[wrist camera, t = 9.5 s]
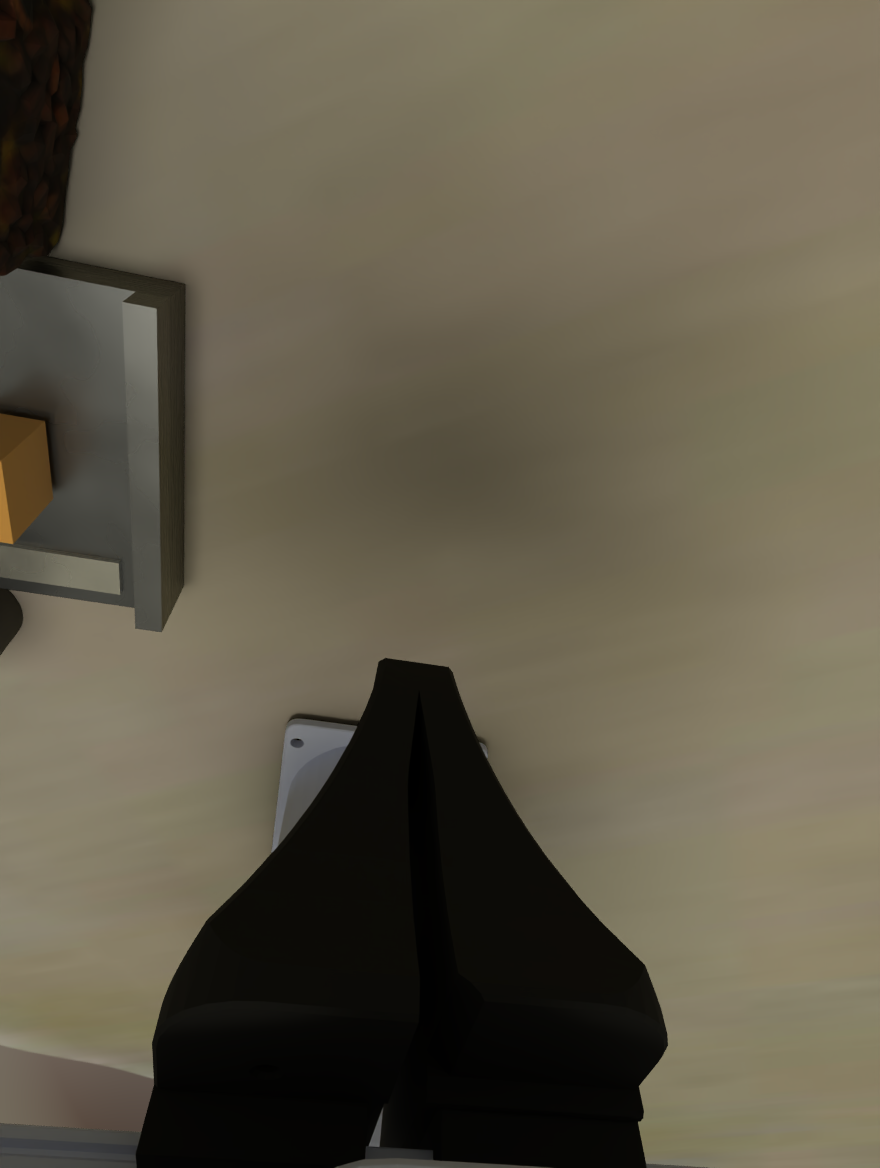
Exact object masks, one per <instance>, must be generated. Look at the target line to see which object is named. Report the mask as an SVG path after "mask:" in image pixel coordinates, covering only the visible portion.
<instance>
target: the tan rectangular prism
mask: <svg viewBox="0 0 880 1168" xmlns="http://www.w3.org/2000/svg"><path fill="white" fill-rule="evenodd" d="M52 500H53V491H52V482H51V472H50V463H49V454H48V444H47V435H46V425H45V421H41V420H36V419H30V418H24V417H18V416H13V415H7V414H1V413H0V542H3V543H9V544H14V543H15V542H16V540H17V539H18V538H19V537H20V536H21V535H22V534H23V532H24V531H25V530H26V529H27V528H28V527H29V526H30V525H31V523H32V522H33V521H34V520H35V519H36V518H37V517H38V516H39V514H40V513H41V512H42V511H43V510H44V509H45V508H46V506H47V505H48V504H49V503H50V502H51V501H52Z"/></svg>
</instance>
